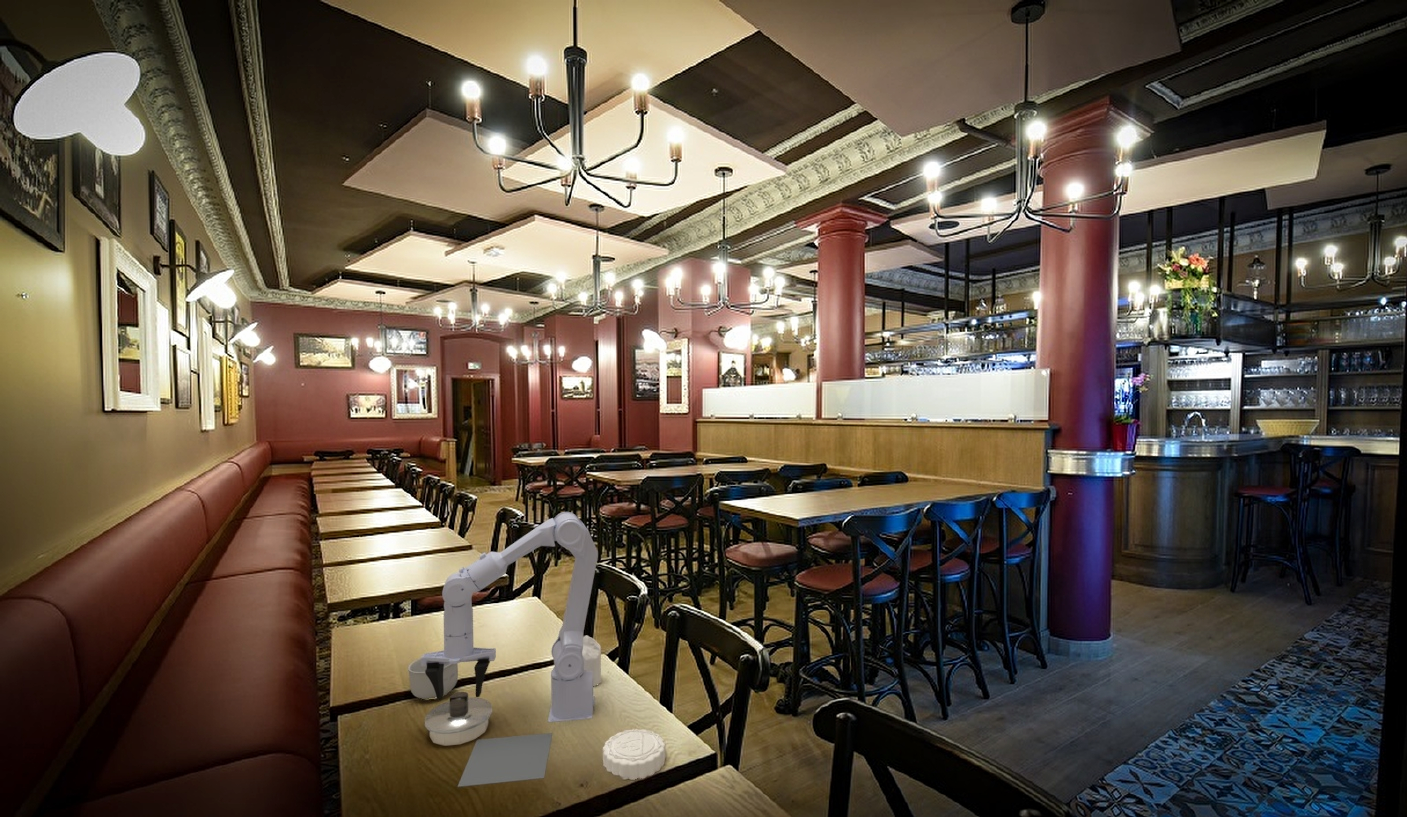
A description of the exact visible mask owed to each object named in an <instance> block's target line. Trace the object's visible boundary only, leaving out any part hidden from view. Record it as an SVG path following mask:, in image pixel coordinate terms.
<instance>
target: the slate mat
mask: <svg viewBox="0 0 1407 817" xmlns="http://www.w3.org/2000/svg"><path fill="white" fill-rule="evenodd" d="M553 735H554V734H553V732H549V733H548V732H546V733H536V734H525V735H524V734H523V735H514V736H503V737H493V738H483V739H482V738H480V739H477V740H476V741H475V744H474V746H473V748H472V751H471V753H470V754H469V757H468V758H469V759H468V761H467V763H466V765H465V768H464V770H463V772H462V775H461V778H460V779H459V782H458V785H457V788H462V787H473V786H480V785H491V784H492V785H493V784H501V783H511V782H518V781H519V782H521V781H522V782H523V781H530V780H539V779H545V774H546V769H547V764H548V758H549V755H550V749H551V742H552V739H553Z"/></svg>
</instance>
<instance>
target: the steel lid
mask: <svg viewBox="0 0 1407 817" xmlns="http://www.w3.org/2000/svg"><path fill="white" fill-rule="evenodd" d="M492 713H493V705H492V703H491V701H489V700H487V699H485V698H480V697H476V696H475V697H473V696H470V697H469V693H468V692H466V691H458V692H454V693H452V694H451V695H450V696H449V700H448V701H445V702H443V703H441V704H438V705H437V706H435V707H434V708H432V709H430V711H428V713H426V715H425V717H424V726H425V728H426V730H428V731H429V732H430V731H431V732H434V733H440V734H450V733H457V732H462V731H466V730H469V729H472V728H474V727H476V726H478V725H480V724H482V723H483V722H485V721H486V720H487V719H488V720H489V718H490V717H491V715H492Z"/></svg>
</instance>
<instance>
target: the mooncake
mask: <svg viewBox="0 0 1407 817" xmlns="http://www.w3.org/2000/svg"><path fill="white" fill-rule="evenodd" d="M665 760H666V743H665V740H664V738H663V737H661V735H660V734H659V733H655V732H654V731H653V730H646V729H645V728H644V729H643V728H642V729H638V728H633V729H625V730H623V731H622V732H616V734H615V735H612V736H610V737H609V738H608V740H606V741H605V742H604V746H603V747H602V761H603V764H602V765H603V767H605V768H606V771H607V772H609V773H611V774H613V776H619V777H621V780H622V781H623V780H625V781H626V780H628V779H629V780H631V781H635V779H636V780H637V778H638V779H641V778H642V779H645V778H647V777H649V776H653V775H655V772H659V771H660V770H661V768H662V767H663V766H665ZM642 779H641V780H642Z"/></svg>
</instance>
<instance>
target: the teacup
mask: <svg viewBox="0 0 1407 817" xmlns="http://www.w3.org/2000/svg"><path fill="white" fill-rule="evenodd" d="M458 665H459V663H458V664H449V663H444V670H443V686H444V694H443V695H445V696H446V695H448V694H449V693H450V692H451V691H452V689H454V688H455V686H456V685H457V682H458V679H459V666H458ZM426 669H427V666H421V657H420V658H418V659H416V660H414V661H412V662H411V663H409V665H408V667H407V670H408V677H409V678H408V680H409V686H410V692H411V693H412V695H413V696H414V697H416V698H418V699H420V698H422V699H429V698H435V697H437V696H436V693H435V690H434V687H433V685H432V683H431V681H430V679H429V678H428V677H427V675H426V673H425V670H426ZM449 691H450V692H449ZM448 692H449V693H448ZM447 693H448V694H447ZM422 699H421V700H422Z"/></svg>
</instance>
